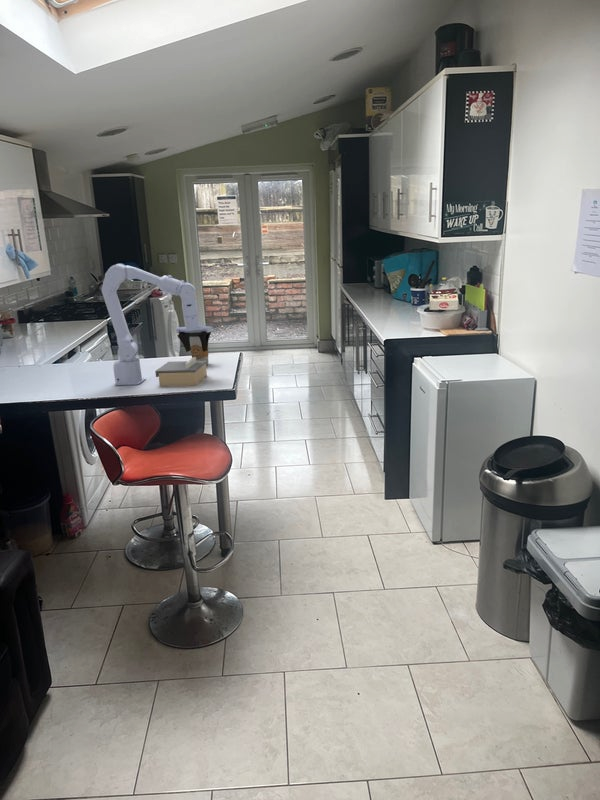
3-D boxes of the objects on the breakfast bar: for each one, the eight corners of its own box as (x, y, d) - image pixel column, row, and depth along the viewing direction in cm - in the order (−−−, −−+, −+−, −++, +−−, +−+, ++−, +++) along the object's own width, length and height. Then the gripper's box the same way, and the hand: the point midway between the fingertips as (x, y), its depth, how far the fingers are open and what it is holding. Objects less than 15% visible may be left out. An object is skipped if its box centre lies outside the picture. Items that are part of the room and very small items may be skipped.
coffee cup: (187, 367, 251) (183, 331, 247) (195, 362, 259) (192, 327, 254) (206, 367, 249) (202, 331, 245) (213, 362, 257) (210, 327, 252)
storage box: (159, 386, 224) (158, 373, 222) (172, 376, 237) (170, 364, 235) (196, 385, 222) (195, 372, 220) (206, 375, 235) (205, 363, 233)
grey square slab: (156, 377, 222) (154, 365, 221) (169, 367, 236) (167, 356, 235) (196, 376, 220) (194, 364, 219) (207, 366, 234) (205, 355, 233)
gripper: (213, 313, 228) (218, 348, 232) (181, 314, 234) (186, 348, 238) (203, 316, 222) (208, 352, 226) (170, 317, 228) (176, 353, 232)
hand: (196, 351), depth 231 cm, fingers open, 7 cm apart
